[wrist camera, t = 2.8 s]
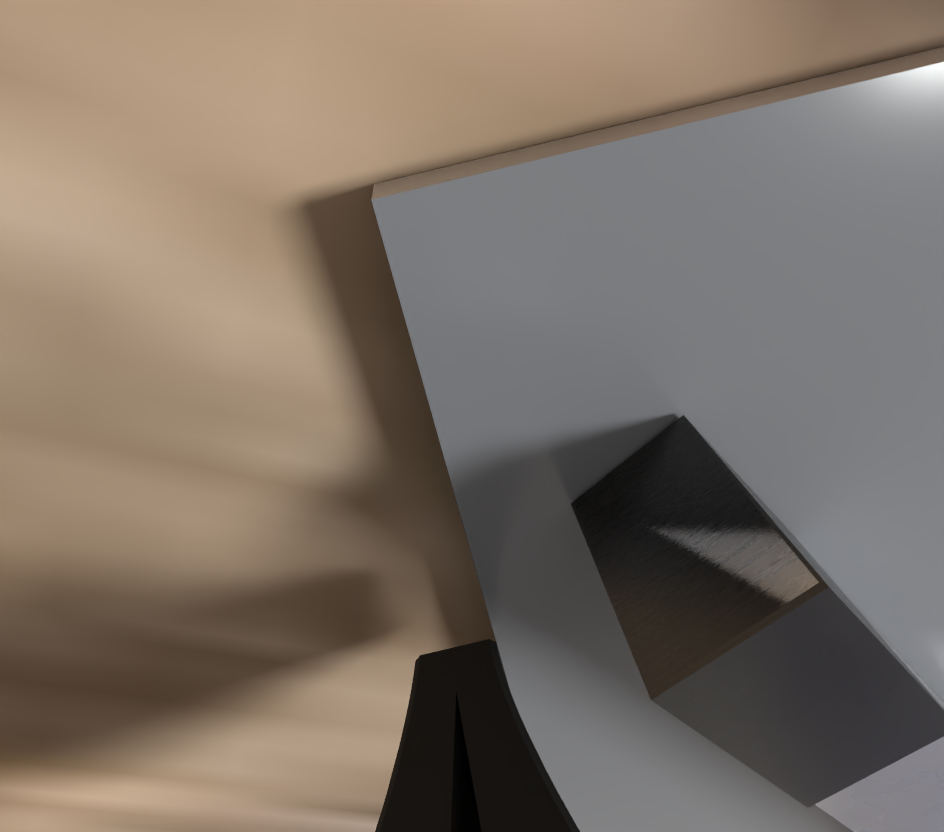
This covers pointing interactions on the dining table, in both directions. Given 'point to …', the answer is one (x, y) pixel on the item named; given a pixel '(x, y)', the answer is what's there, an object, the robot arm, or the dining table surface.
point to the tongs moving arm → (761, 640)
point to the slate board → (688, 388)
